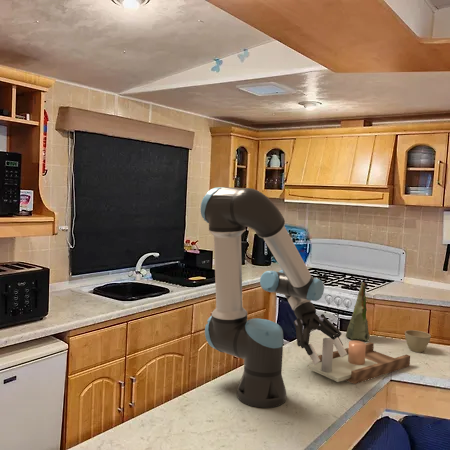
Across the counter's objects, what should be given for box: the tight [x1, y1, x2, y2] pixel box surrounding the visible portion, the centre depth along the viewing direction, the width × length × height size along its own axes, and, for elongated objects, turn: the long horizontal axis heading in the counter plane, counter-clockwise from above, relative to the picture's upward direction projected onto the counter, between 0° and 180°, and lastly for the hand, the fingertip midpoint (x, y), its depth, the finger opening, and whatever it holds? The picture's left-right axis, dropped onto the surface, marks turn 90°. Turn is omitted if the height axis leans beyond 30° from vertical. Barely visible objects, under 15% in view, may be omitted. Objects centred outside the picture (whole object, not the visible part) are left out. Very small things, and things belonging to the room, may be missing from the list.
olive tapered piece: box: [345, 281, 370, 342], centre depth 209 cm, size 11×12×25 cm
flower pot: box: [404, 329, 431, 353], centre depth 197 cm, size 10×10×7 cm
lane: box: [318, 341, 411, 385], centre depth 177 cm, size 32×18×4 cm, turn 126°
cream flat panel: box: [307, 337, 377, 383], centre depth 171 cm, size 24×14×12 cm, turn 126°
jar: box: [348, 339, 366, 365], centre depth 174 cm, size 6×6×7 cm
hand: (331, 359), depth 163 cm, fingers open, 13 cm apart
